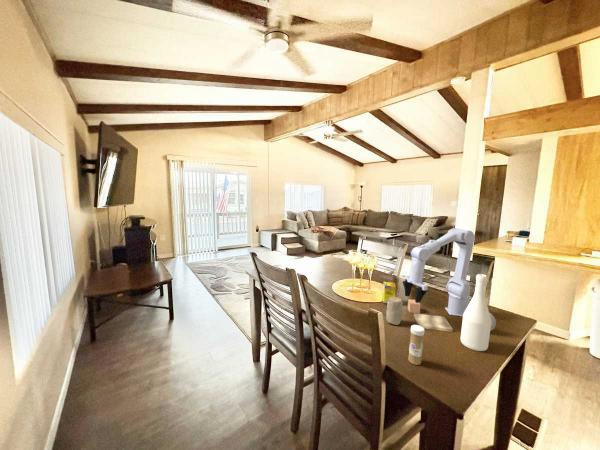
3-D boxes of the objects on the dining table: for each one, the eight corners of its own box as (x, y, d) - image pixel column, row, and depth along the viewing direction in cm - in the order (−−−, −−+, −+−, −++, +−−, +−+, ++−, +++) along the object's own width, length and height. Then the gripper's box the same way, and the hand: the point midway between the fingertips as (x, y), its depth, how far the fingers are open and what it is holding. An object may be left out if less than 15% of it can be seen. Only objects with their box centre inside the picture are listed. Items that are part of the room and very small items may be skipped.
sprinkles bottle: (406, 361, 96) (409, 327, 94) (410, 355, 100) (413, 323, 98) (419, 367, 93) (422, 332, 91) (423, 361, 97) (426, 327, 95)
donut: (493, 332, 117) (496, 311, 116) (495, 335, 114) (498, 314, 113) (467, 326, 122) (469, 306, 121) (468, 330, 119) (470, 309, 118)
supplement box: (394, 305, 143) (396, 286, 142) (383, 304, 144) (384, 285, 143) (393, 300, 149) (394, 282, 147) (382, 299, 150) (383, 281, 149)
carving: (404, 324, 123) (406, 300, 121) (392, 327, 120) (393, 302, 118) (395, 318, 129) (396, 295, 127) (382, 320, 126) (384, 297, 124)
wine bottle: (488, 355, 101) (498, 281, 97) (460, 347, 106) (467, 276, 102) (486, 343, 109) (495, 274, 105) (460, 336, 114) (467, 269, 110)
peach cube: (417, 309, 139) (418, 300, 139) (419, 313, 134) (420, 304, 134) (407, 308, 140) (408, 299, 140) (409, 312, 135) (410, 303, 135)
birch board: (444, 319, 129) (444, 316, 129) (452, 331, 117) (452, 329, 117) (413, 315, 132) (414, 313, 132) (419, 327, 120) (419, 325, 120)
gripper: (400, 267, 131) (396, 293, 132) (420, 276, 117) (415, 305, 118) (412, 267, 132) (408, 293, 134) (433, 277, 118) (428, 305, 120)
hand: (412, 299), depth 126 cm, fingers open, 7 cm apart
